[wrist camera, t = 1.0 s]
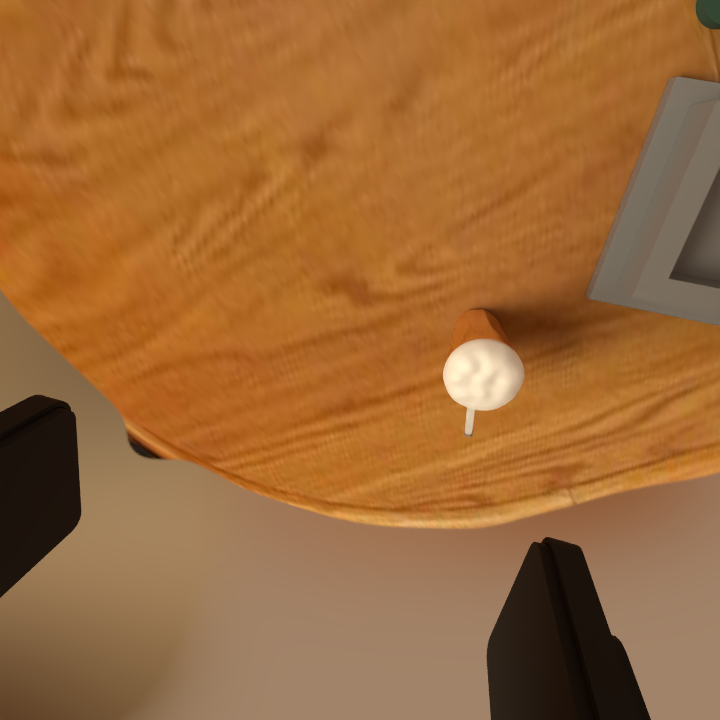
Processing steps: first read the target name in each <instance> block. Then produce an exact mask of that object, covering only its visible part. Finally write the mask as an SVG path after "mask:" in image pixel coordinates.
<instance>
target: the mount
mask: <svg viewBox="0 0 720 720" xmlns="http://www.w3.org/2000/svg"><path fill="white" fill-rule="evenodd" d="M696 14H697V17H698V19H699V21H700V22H701V23H702V24H703V25H704V26H705V27H707V28H710V29H720V0H697V2H696Z"/></svg>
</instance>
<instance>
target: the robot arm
mask: <svg viewBox="0 0 720 720" xmlns="http://www.w3.org/2000/svg"><path fill="white" fill-rule="evenodd" d="M80 517H81V499H80V482H79V465H78V448H77V431H76V417H75V414H74V413H73V412H72V411H71V408H70V406H69V405H68V404H67V403H66V402H64V401H60V400H57V399H53V398H50V397H46V396H43V395H34V396H31V397H29V398H27V399H25V400H23V401H21V402H19V403H17V404H15V405H13V406H11V407H9V408H8V409H6V410H4V411H2V412H0V597H2V596H3V595H4V593H6V592H7V591H8V590H9V589H10V588H11V587H12V586H13V585H15V584H16V583H17V582H18V581H19V580H20V579H21V578H22V577H23V576H24V575H25V574H26V573H27V572H28V571H30V570H31V569H32V568H33V567H34V566H35V565H36V564H37V563H38V562H39V561H40V560H41V559H43V558H44V557H45V556H46V555H47V554H48V553H49V552H50V551H51V550H52V549H53V548H54V547H56V546H57V545H58V544H59V543H60V542H61V541H62V540H63V539H64V538H65V537H66V536H67V535H68V534H70V533H71V532H72V531H73V529H74V528H75V527H76V526H77V524H78V522H79V520H80ZM487 667H488V668H487V669H488V682H489V696H490V712H491V720H651V719H650V716H649V713H648V711H647V708H646V705H645V702H644V700H643V697H642V694H641V691H640V689H639V686H638V683H637V681H636V678H635V675H634V673H633V669H632V667H631V664H630V661H629V659H628V656H627V653H626V651H625V649H624V647H623V645H622V643H621V642H620V640H619V639H618V638H617V637H616V636H613V635H611V632H610V629H609V627H608V624H607V621H606V618H605V615H604V612H603V610H602V606H601V603H600V601H599V598H598V595H597V592H596V589H595V586H594V583H593V580H592V577H591V575H590V572H589V569H588V566H587V563H586V560H585V557H584V554H583V552H582V550H581V548H580V547H579V546H578V545H575V544H571V543H568V542H564V541H561V540H557V539H553V538H550V537H546V538H544V539H543V541H542V542H541V543H538V542H533V543H532V544H531V546H530V548H529V550H528V553H527V555H526V557H525V559H524V561H523V564H522V566H521V568H520V570H519V573H518V575H517V577H516V580H515V582H514V584H513V586H512V588H511V591H510V593H509V595H508V597H507V600H506V602H505V604H504V607H503V609H502V611H501V613H500V615H499V618H498V620H497V622H496V624H495V627H494V629H493V631H492V633H491V636H490V639H489V642H488V648H487Z"/></svg>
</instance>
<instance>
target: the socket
mask: <svg viewBox="0 0 720 720" xmlns="http://www.w3.org/2000/svg"><path fill="white" fill-rule="evenodd" d="M586 296H587V297H588V298H589V299H591V300H596V301H601V302H606V303H611V304H616V305H621V306H626V307H630V308H635V309H640V310H645V311H650V312H655V313H660V314H665V315H669V316H674V317H679V318H684V319H689V320H694V321H699V322H704V323H708V324H713V325H718V326H720V83H716V82H710V81H703V80H697V79H691V78H684V77H678V76H676V77H673V78H670V79H669V80H668V83H667V85H666V88H665V90H664V93H663V95H662V98H661V101H660V103H659V106H658V108H657V111H656V114H655V116H654V119H653V121H652V124H651V127H650V129H649V132H648V134H647V137H646V139H645V142H644V145H643V147H642V150H641V152H640V155H639V158H638V160H637V163H636V165H635V168H634V170H633V173H632V176H631V178H630V181H629V183H628V186H627V189H626V191H625V194H624V196H623V199H622V201H621V204H620V207H619V209H618V212H617V214H616V217H615V220H614V222H613V225H612V227H611V230H610V232H609V235H608V238H607V240H606V243H605V245H604V248H603V251H602V253H601V256H600V258H599V261H598V263H597V266H596V269H595V271H594V274H593V276H592V279H591V282H590V284H589V287H588V289H587V292H586Z"/></svg>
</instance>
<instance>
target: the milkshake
mask: <svg viewBox="0 0 720 720" xmlns="http://www.w3.org/2000/svg"><path fill="white" fill-rule="evenodd" d="M443 380H444V383H445V386H446V388H447V391H448V393H449V394H450V396H451V397H452V398H453V399H454V400H455V401H456V402H458V403H459V404H461V405H463V406H465V407H467V414H466V422H465V431H464V435H465V436H468V437H472V433H473V423H474V414H475V410H493V409H496V408H499V407H501V406H503V405H505V404H507V403H508V402H510V401H511V400H512V399H513V398H514V397H515V396H516V395H517V393H518V391H519V390H520V388H521V386H522V383H523V380H524V367H523V364H522V361H521V359H520V358H519V356H518V355H517V353H516V352H515V350H514V349H513V347H512V345H511V344H510V342H509V341H508V339H507V337H506V335H505V334H504V332H503V330H502V328H501V326H500V324H499V323H498V321H497V319H496V317H495V316H493V315H492V314H490V313H489V312H487V311H486V310H484V309H474V310H468V311H467V312H465V313H464V314H462V315H461V316H460V317H458V318H457V321H456V324H455V327H454V330H453V335H452V340H451V345H450V350H449V353H448V356H447V360H446V363H445V367H444V371H443Z"/></svg>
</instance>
